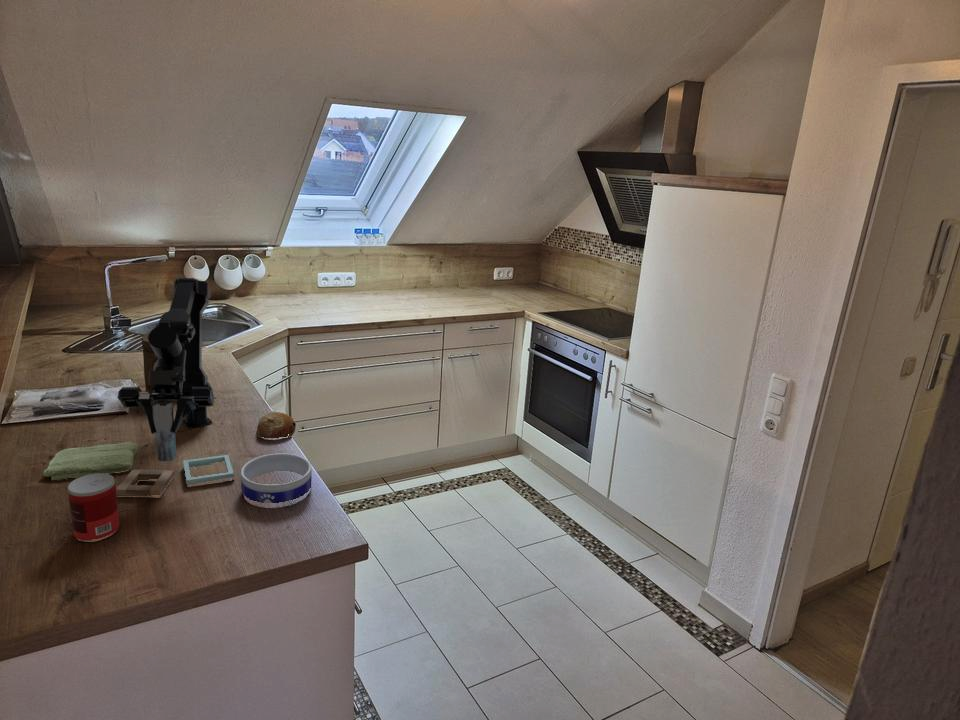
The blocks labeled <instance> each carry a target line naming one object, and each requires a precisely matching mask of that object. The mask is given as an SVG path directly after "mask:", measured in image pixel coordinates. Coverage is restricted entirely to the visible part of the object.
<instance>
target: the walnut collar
mask: <svg viewBox="0 0 960 720" xmlns="http://www.w3.org/2000/svg"><path fill="white" fill-rule="evenodd" d="M173 476H175V470H174V469H169V470H167V469H166V470H165V469H131V470H130V471H129V473H128V475H127V476H126V477H125V478H124V479H123V481H121V483H120V484H119V485H118V486H117V487H116V495H117V496H148V495H149V496H151V495H161V493H162V492H163V491H164V489H165V488H166V486H167V485H168V483H169V482H170V480H171V479H172V478H173ZM149 479H158V480H157V481H156V482H154V484H153V485H151V484H150V485H149V484H148V485H147V484H146V485H145V484H142V485H141V484H139V485H138V484H137V485H135V484H136V483H137V482H138V480H149Z"/></svg>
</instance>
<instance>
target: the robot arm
mask: <svg viewBox="0 0 960 720" xmlns="http://www.w3.org/2000/svg"><path fill="white" fill-rule="evenodd" d="M211 296H212V288H211V284H210V283H208V282H206V281H205V280H199V279H198V278H195V277H178V278H176V279H175V281H173V297H172V301H171V302H170V303H171V304H170V306H169V310H168V311H166V312H164V313H163V314H161V316H160V317H159V321H158V323H156V324H155V326H154V328H153V329H151V331H149V332H150V333H149V335H148V341H149V343H150V345H151V347H152V349H153V351H154V353H155V355H156V356H157V357H158V362H157V367H156V369H155V371H149V385H151V389H152V390H154V392H146V391H142V389H141V388H140V387H139V386H125V387H124V386H122V387H121V388H120V389H119V390H118V393H117V399H118V401H119V402H120V403H121V405H122V406H123V408H129V409H130V408H140V409H141V411H145V415H146V417H147V421H148V424H149V425H148V426H149V429H150V433H151V434H152V435H155V431H154V420H153V409H152V404H153V403H154V402H156V401H161V400H169V401H172V402H174V401H175V402H176V411H175V414H174V424H173V433H174V434H175V435H176V434H177V432H178V430H179V429H180V427H181V425H182V424H183V425H184V426H185V427H186V428H188V429H193V428H197V427H202V426H206V425H210V424H213V421H212V420H211V419H210V418H209V417H208V409H207V408H208V407H213V406H214V402H215V395H214V390H213V388H212V386H211V384H210V382H209V377H208V375H207V374H206V371H205V370H204V369H203V366H202V365H203V363H202V362H203V361H202V359H203V357H202V353H203V349H202V347H203V344H202V343H203V313H204V312H205V310H206V309H207V308H208V306H209V300H210V299H211ZM181 343H184V347H183V346H181Z"/></svg>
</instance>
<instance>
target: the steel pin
mask: <svg viewBox="0 0 960 720" xmlns="http://www.w3.org/2000/svg"><path fill="white" fill-rule="evenodd" d="M173 405H174V403H173V401H169V400H161V401H154V403H153V404H152V409H153V420H154V431H155V432H154V442H155V451H156V453H155V454H156V460H157V461H159V462H163V463H165V462H170V461H173V460H175V459H177V457H178V456H177V455H178V454H177V446H176V445H177V444H176V442H177V441H176V433H175V434H174V433H173V424H174V420H175V414H174V406H173Z"/></svg>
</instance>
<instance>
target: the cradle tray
mask: <svg viewBox="0 0 960 720" xmlns="http://www.w3.org/2000/svg"><path fill="white" fill-rule="evenodd" d="M222 461H225V465H226V468H227V471H228V472H226V473H219V474H212V475H205V476H198V477H191V475H190V470H189V468H190V467H193V466H195V467H198V466H199V467H200V466H203V465H204V466H205V465H206V466H209V465H210V463H211V465H212V463H215V462H222ZM182 463H183V464H182V465H183V472H184V471H185V473H184V477H186V479H185V485H186V484H187V485H189V484H196V483H201V482H207V481H213V480H217V479H218V480H219V479H223V478H229V477H230V478H231V477H234V478H235V474H234V471H233V466H232V462H231V459H230V456H229V454H223V455H215V456H209V457H200V458H193V459H184V460H183V462H182ZM195 469H196V468H195Z"/></svg>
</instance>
